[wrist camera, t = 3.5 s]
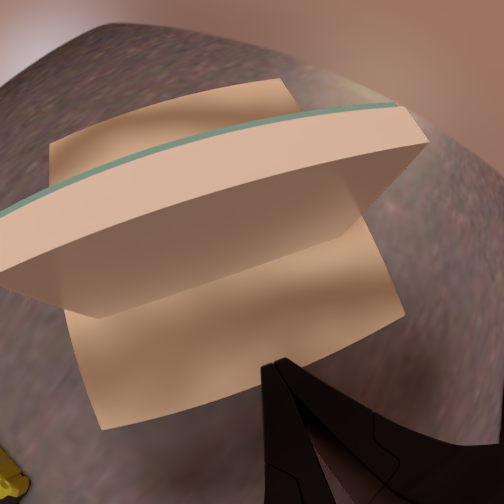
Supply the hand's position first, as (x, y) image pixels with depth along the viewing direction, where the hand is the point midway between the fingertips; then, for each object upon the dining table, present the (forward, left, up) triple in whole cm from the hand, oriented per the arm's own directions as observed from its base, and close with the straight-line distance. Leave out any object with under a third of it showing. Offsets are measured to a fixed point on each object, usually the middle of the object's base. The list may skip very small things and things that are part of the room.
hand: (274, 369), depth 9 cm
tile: (+5, -2, -6) cm, 8 cm away
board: (+8, -3, -7) cm, 11 cm away
